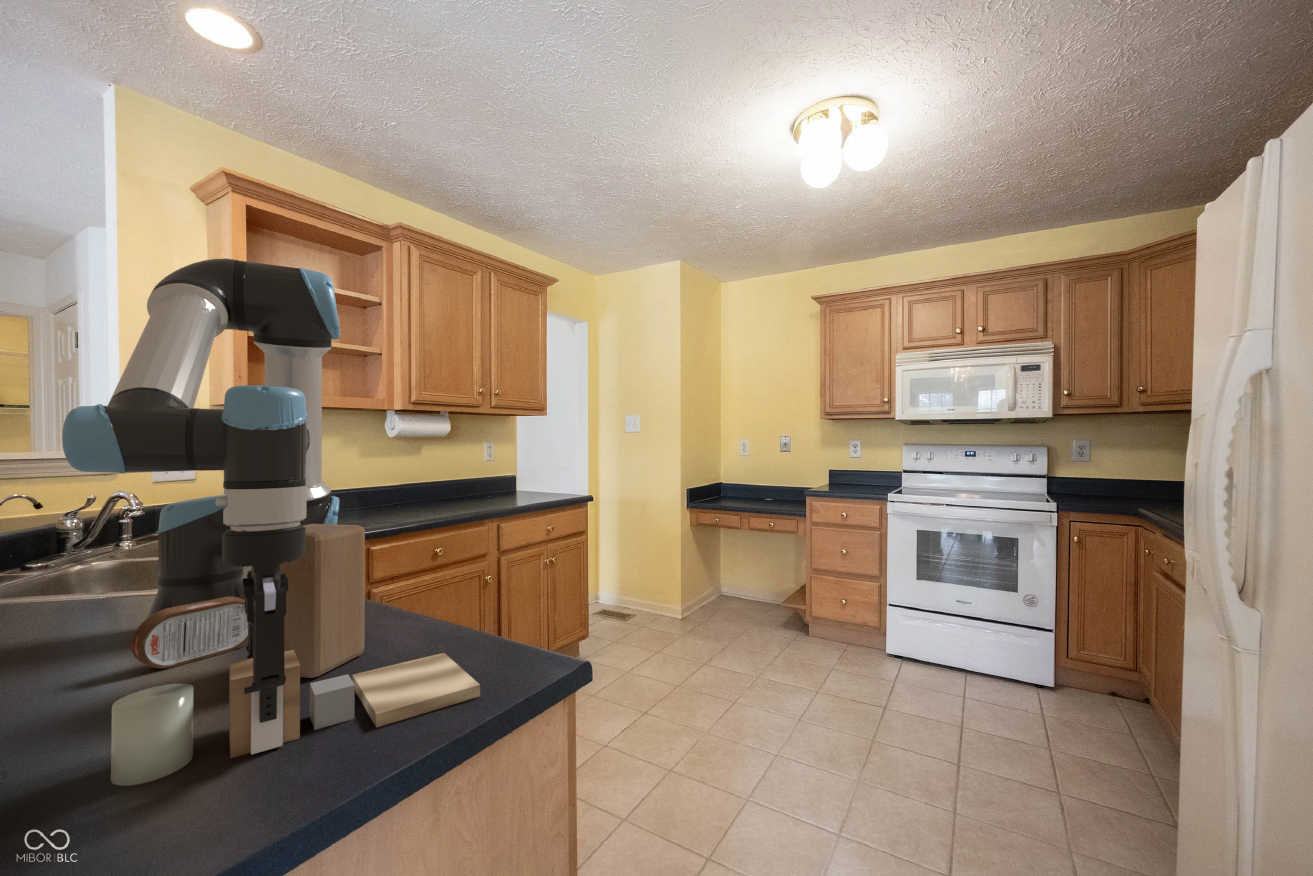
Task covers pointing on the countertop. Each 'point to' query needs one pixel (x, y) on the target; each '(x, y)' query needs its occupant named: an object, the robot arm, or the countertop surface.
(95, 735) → the countertop surface
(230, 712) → the walnut block
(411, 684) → the board
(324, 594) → the block
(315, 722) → the slate cube
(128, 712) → the pale green rounded cylinder
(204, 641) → the tin
